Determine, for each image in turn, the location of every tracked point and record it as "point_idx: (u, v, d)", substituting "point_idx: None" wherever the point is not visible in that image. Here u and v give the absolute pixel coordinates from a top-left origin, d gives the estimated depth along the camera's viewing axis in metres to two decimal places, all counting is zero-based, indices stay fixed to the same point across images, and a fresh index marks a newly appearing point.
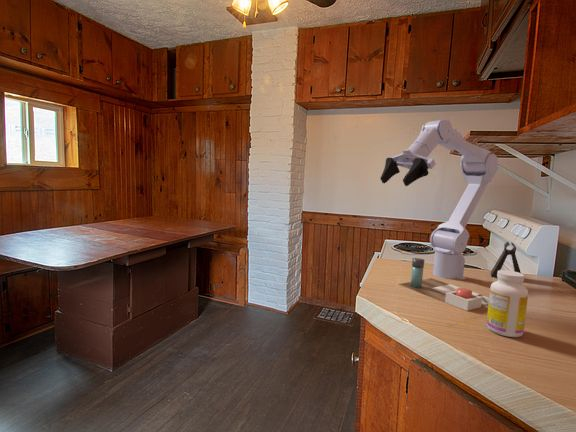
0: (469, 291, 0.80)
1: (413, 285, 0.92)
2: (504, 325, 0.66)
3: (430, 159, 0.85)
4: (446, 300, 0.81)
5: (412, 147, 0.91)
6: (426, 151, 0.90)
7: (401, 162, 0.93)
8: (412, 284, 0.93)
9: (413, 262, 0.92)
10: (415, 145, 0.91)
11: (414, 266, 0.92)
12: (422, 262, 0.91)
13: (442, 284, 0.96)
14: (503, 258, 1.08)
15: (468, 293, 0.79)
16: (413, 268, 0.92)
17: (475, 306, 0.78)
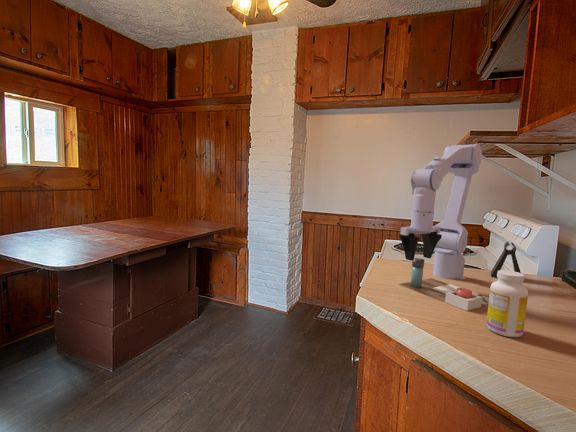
0: (469, 291, 0.80)
1: (413, 285, 0.92)
2: (504, 325, 0.66)
3: (439, 228, 0.94)
4: (446, 300, 0.81)
5: (430, 220, 0.89)
6: None
7: (416, 232, 0.90)
8: (412, 284, 0.93)
9: (413, 262, 0.92)
10: (432, 217, 0.89)
11: (414, 266, 0.92)
12: (422, 262, 0.91)
13: (442, 284, 0.96)
14: (503, 258, 1.08)
15: (468, 293, 0.79)
16: (413, 268, 0.92)
17: (475, 306, 0.78)
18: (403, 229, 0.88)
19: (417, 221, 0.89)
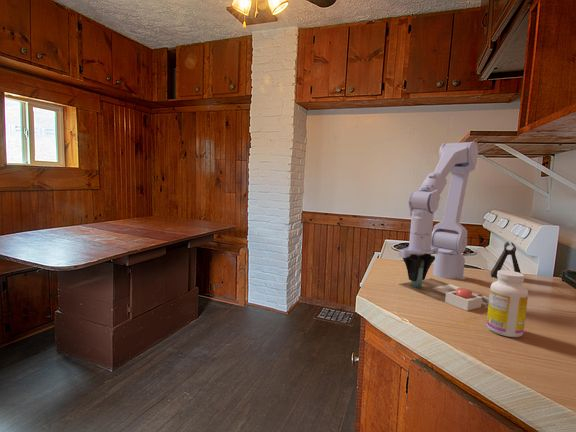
0: (469, 291, 0.80)
1: (413, 285, 0.92)
2: (504, 325, 0.66)
3: (437, 249, 0.95)
4: (446, 300, 0.81)
5: (428, 242, 0.89)
6: None
7: (414, 254, 0.91)
8: (412, 284, 0.93)
9: None
10: (429, 239, 0.90)
11: None
12: (422, 262, 0.91)
13: (442, 284, 0.96)
14: (503, 258, 1.08)
15: (468, 293, 0.79)
16: None
17: (475, 306, 0.78)
18: (401, 251, 0.89)
19: (415, 243, 0.90)
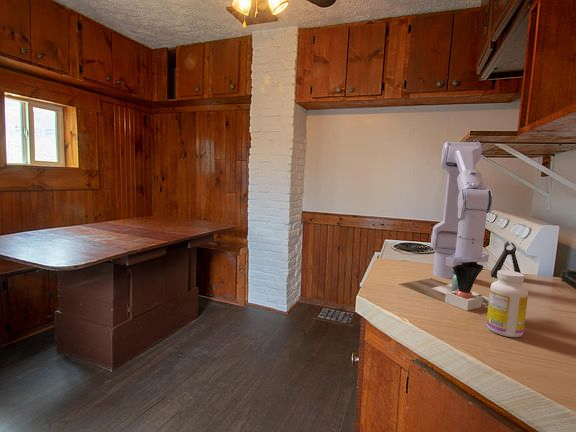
0: None
1: None
2: (504, 325, 0.66)
3: (487, 256, 0.82)
4: (446, 300, 0.81)
5: (480, 249, 0.77)
6: None
7: (463, 262, 0.78)
8: None
9: None
10: (482, 245, 0.77)
11: None
12: None
13: (442, 284, 0.96)
14: (503, 258, 1.08)
15: (468, 294, 0.79)
16: (455, 276, 0.86)
17: (475, 306, 0.78)
18: (449, 259, 0.76)
19: (464, 250, 0.77)
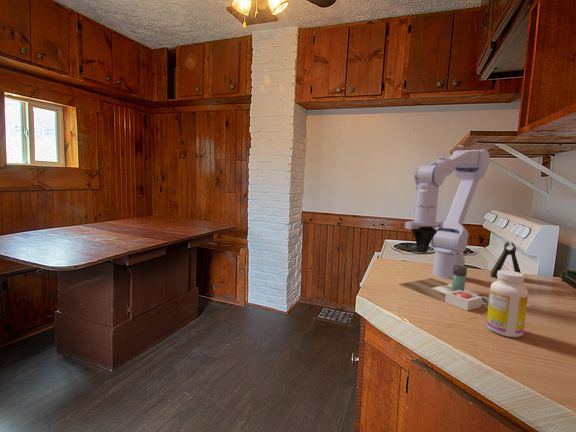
0: (469, 295, 0.80)
1: None
2: (504, 325, 0.66)
3: (442, 223, 0.97)
4: (446, 300, 0.81)
5: (434, 215, 0.92)
6: None
7: (420, 227, 0.94)
8: None
9: (455, 270, 0.85)
10: (435, 212, 0.92)
11: (456, 274, 0.85)
12: (465, 270, 0.84)
13: (442, 284, 0.96)
14: (503, 258, 1.08)
15: (468, 297, 0.79)
16: (455, 276, 0.86)
17: (475, 306, 0.78)
18: (407, 223, 0.91)
19: (420, 216, 0.93)
